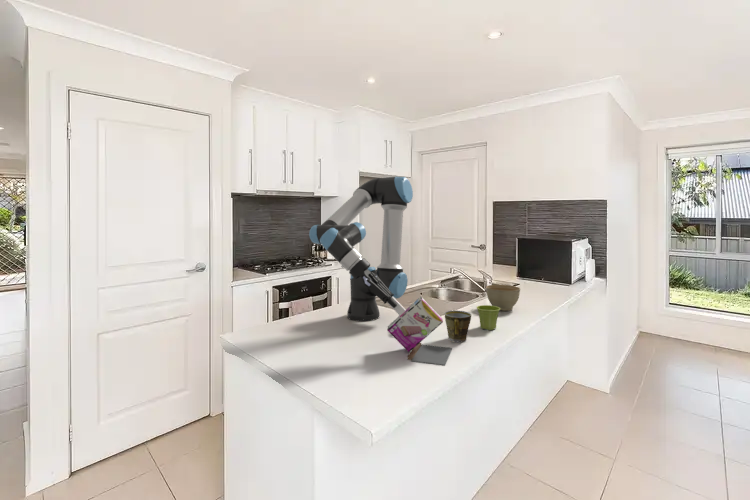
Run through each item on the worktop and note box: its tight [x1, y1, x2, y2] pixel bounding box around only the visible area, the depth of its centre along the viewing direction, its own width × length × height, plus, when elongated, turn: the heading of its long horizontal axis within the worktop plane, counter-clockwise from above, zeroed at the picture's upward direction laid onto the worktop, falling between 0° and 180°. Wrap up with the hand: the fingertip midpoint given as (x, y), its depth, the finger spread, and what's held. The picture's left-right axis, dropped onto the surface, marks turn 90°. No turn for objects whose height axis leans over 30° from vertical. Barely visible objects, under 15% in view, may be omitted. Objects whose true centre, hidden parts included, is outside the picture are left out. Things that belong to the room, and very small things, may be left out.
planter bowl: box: [485, 284, 521, 312], centre depth 189 cm, size 16×16×11 cm
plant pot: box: [476, 304, 501, 331], centre depth 158 cm, size 9×9×9 cm
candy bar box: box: [387, 295, 444, 353], centre depth 132 cm, size 11×5×16 cm
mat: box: [410, 343, 453, 366], centre depth 129 cm, size 11×16×1 cm
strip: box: [407, 342, 422, 361], centre depth 131 cm, size 2×14×1 cm, turn 160°
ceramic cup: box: [444, 310, 472, 343], centre depth 142 cm, size 13×10×10 cm
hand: (402, 312), depth 131 cm, fingers closed
